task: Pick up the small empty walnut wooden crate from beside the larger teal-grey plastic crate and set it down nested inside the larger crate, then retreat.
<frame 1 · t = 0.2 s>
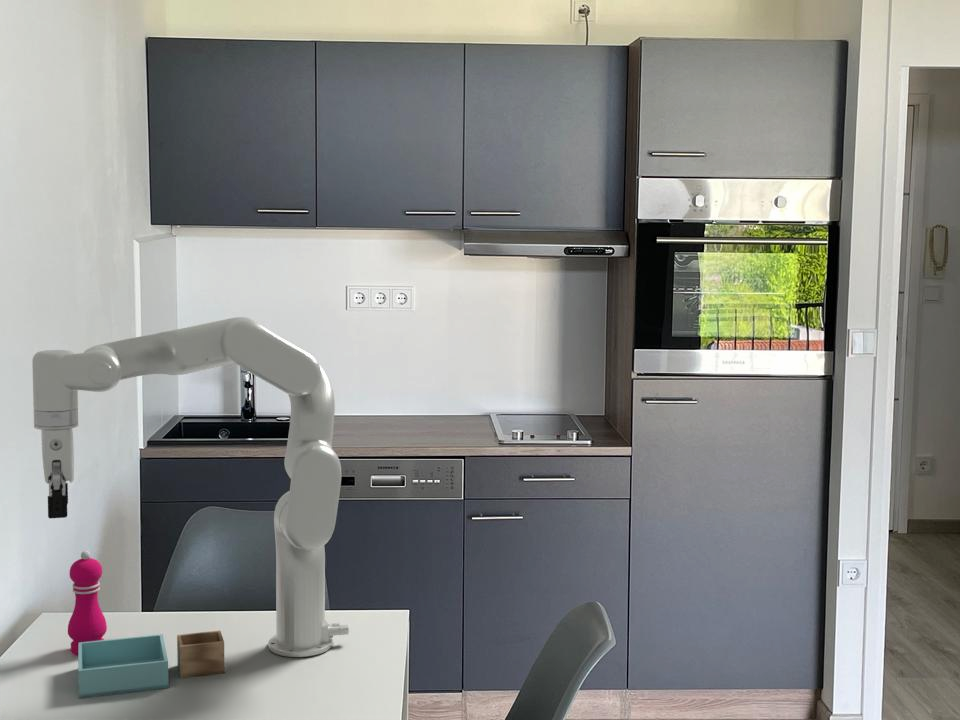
hand: (58, 511, 204), 31 cm above the table, tool pointing down, fingers open, 9 cm apart
pepper mill: (87, 651, 218), on the table
big crate: (122, 677, 205), on the table
small crate: (200, 669, 210), on the table
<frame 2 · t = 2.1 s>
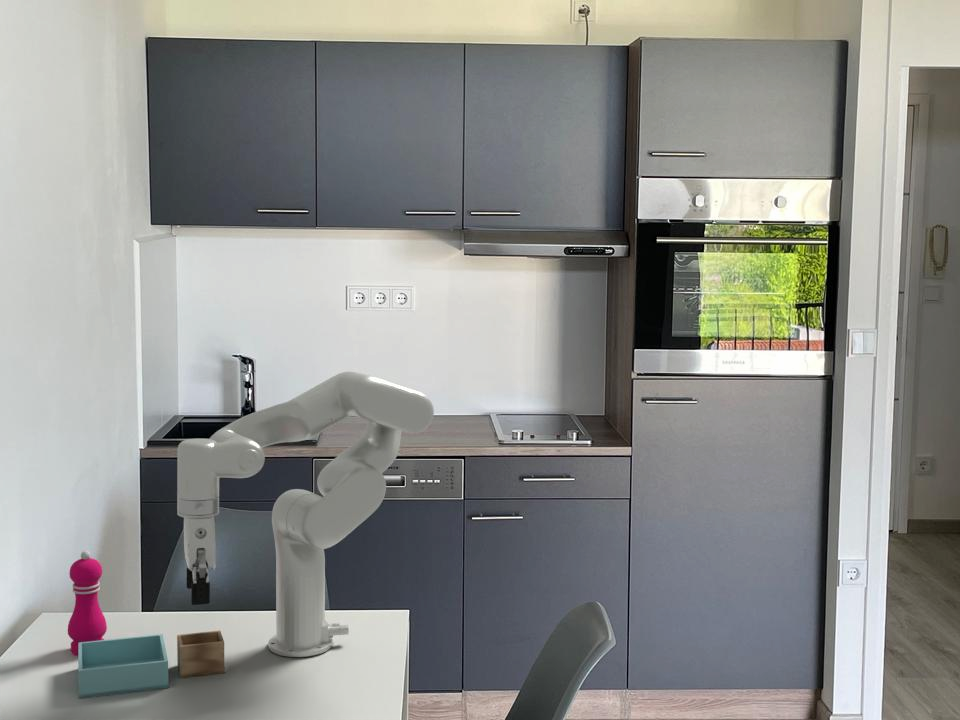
hand: (197, 595, 208), 14 cm above the table, tool pointing down, fingers open, 9 cm apart
nothing on the table moved.
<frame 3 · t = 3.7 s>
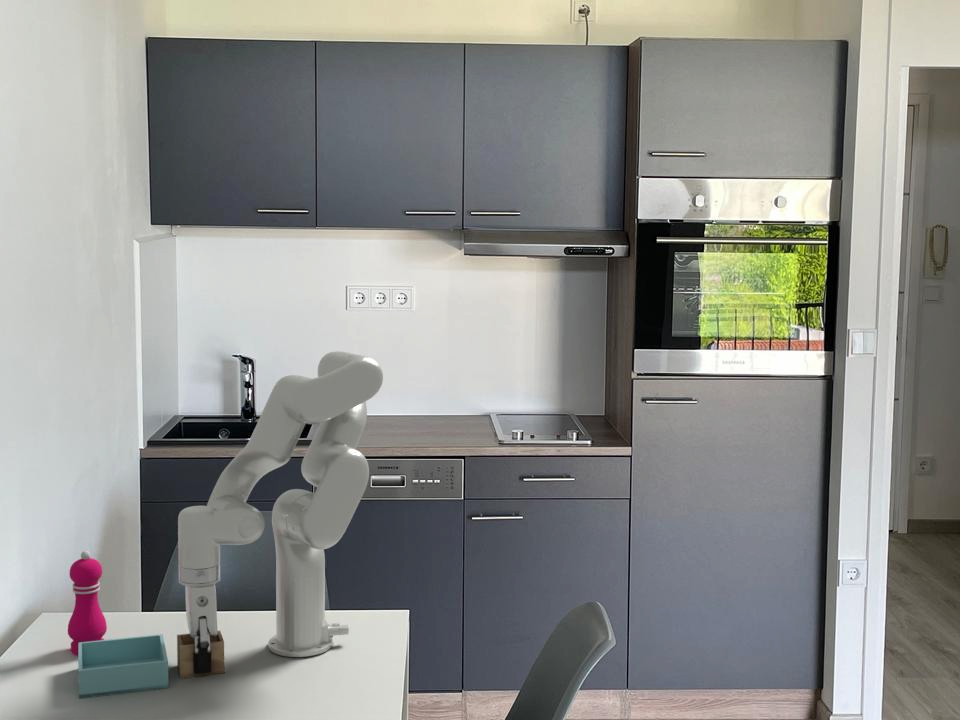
hand: (200, 664, 210), 1 cm above the table, tool pointing down, fingers closed on small crate, 6 cm apart
small crate: (200, 669, 210), on the table, touching gripper
everything else where it was.
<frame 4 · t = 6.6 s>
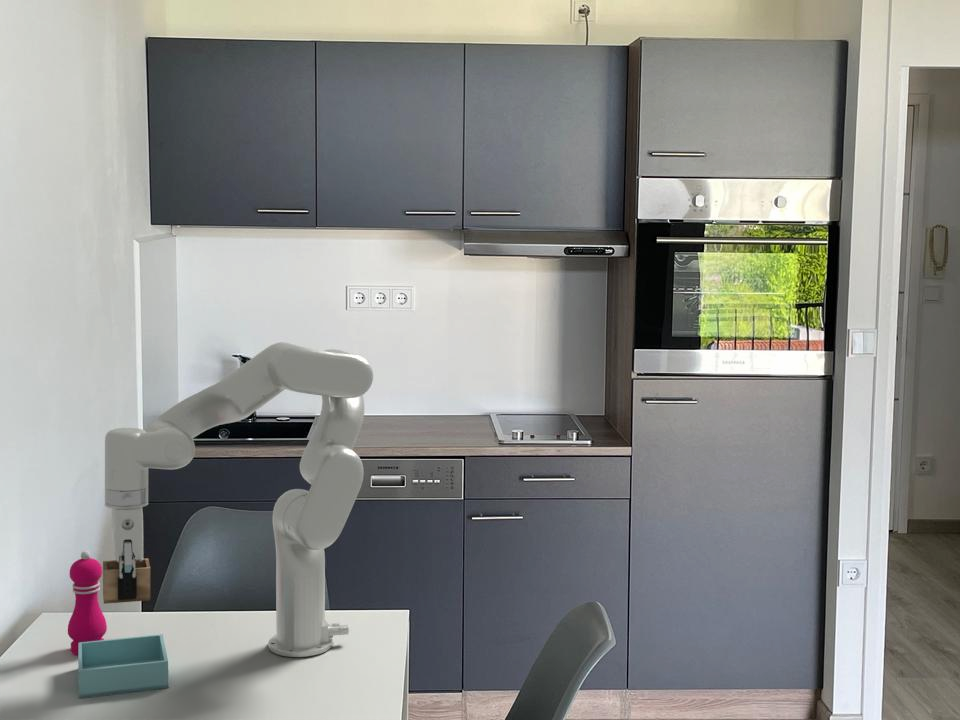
hand: (126, 592, 203), 16 cm above the table, tool pointing down, fingers closed on small crate, 6 cm apart
small crate: (126, 596, 204), point 15 cm above the table, touching gripper
everything else where it was.
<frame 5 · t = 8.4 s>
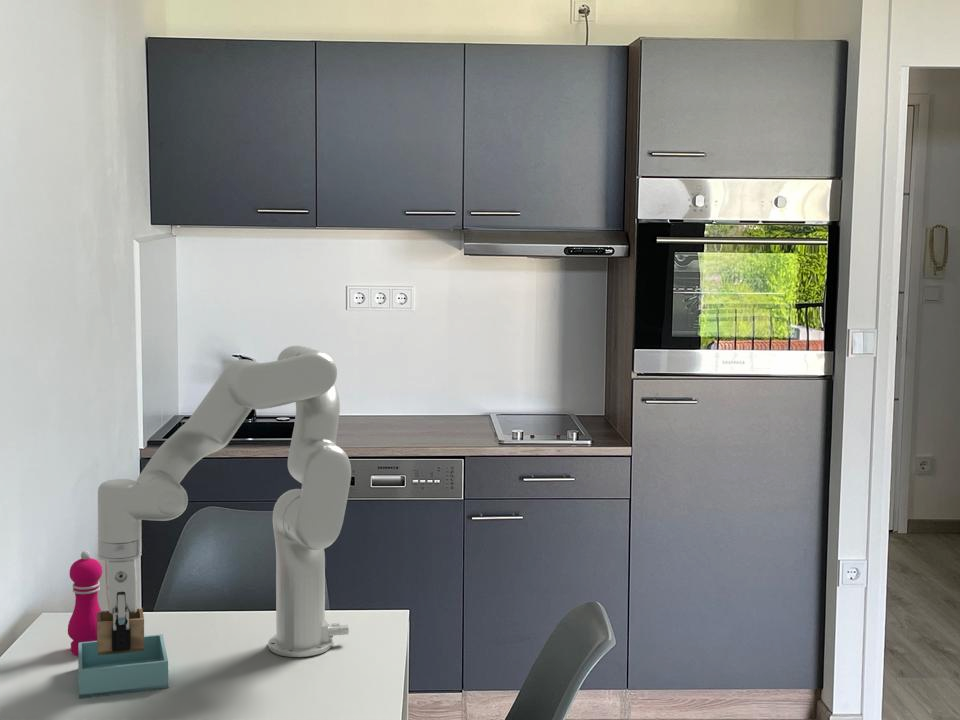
hand: (120, 642, 204), 7 cm above the table, tool pointing down, fingers closed on small crate, 6 cm apart
small crate: (120, 646, 204), point 6 cm above the table, touching gripper
everything else where it was.
when the fingers open (3 cm above the table, at t = 9.7 s): small crate drops 1 cm, resting on big crate.
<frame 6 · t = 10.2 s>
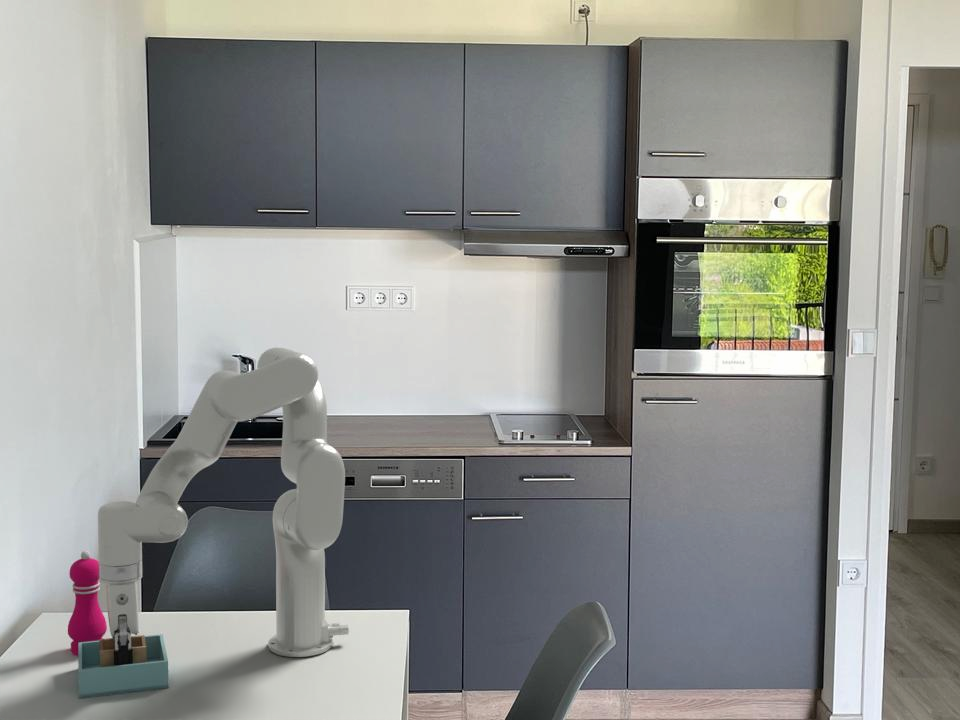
hand: (122, 660, 205), 3 cm above the table, tool pointing down, fingers open, 9 cm apart
small crate: (123, 674, 205), point 1 cm above the table, touching big crate
everything else where it was.
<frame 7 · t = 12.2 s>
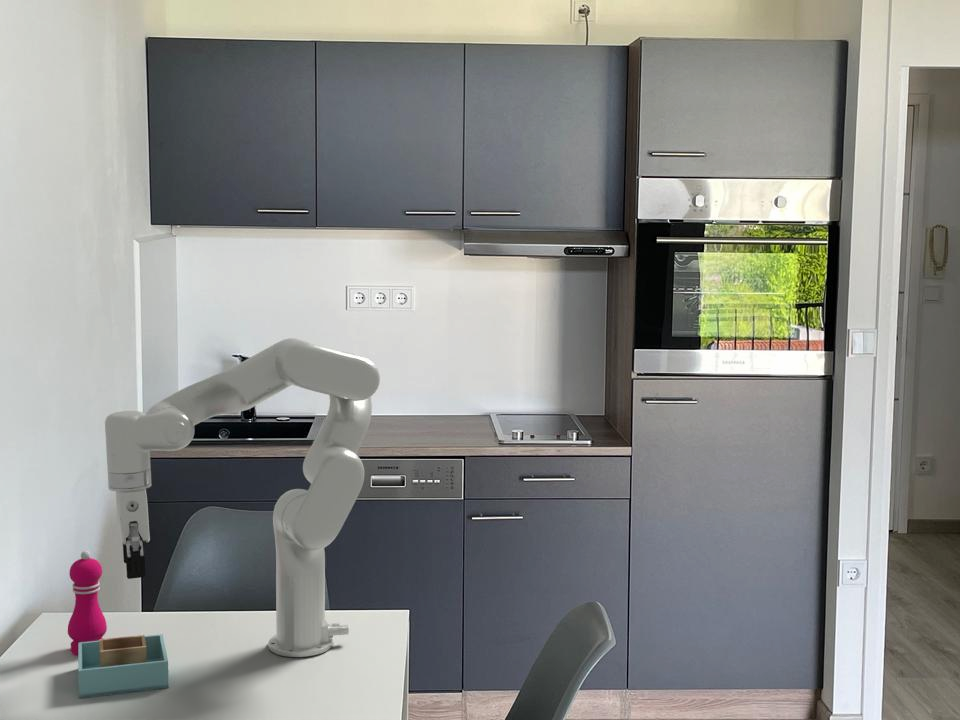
hand: (134, 569, 206), 20 cm above the table, tool pointing down, fingers open, 9 cm apart
nothing on the table moved.
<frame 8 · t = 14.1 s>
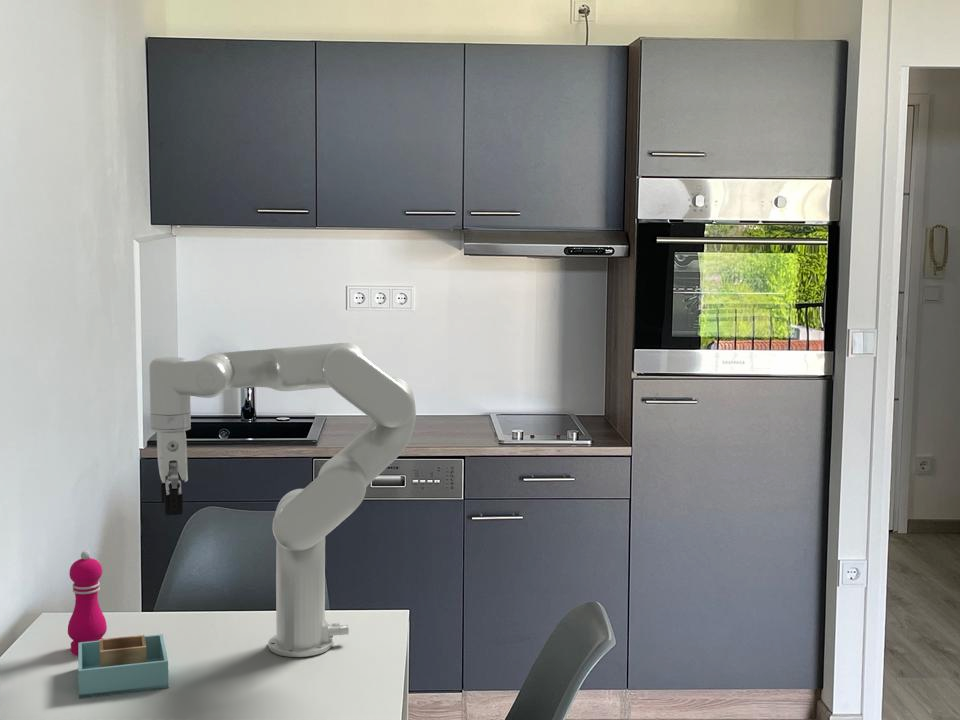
hand: (171, 508, 216), 28 cm above the table, tool pointing down, fingers open, 9 cm apart
nothing on the table moved.
at the end: small crate 0.1 cm off-centre on the big crate, point 0.6 cm above the big crate's base; small crate tilted 0°; the gripper is holding nothing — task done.
